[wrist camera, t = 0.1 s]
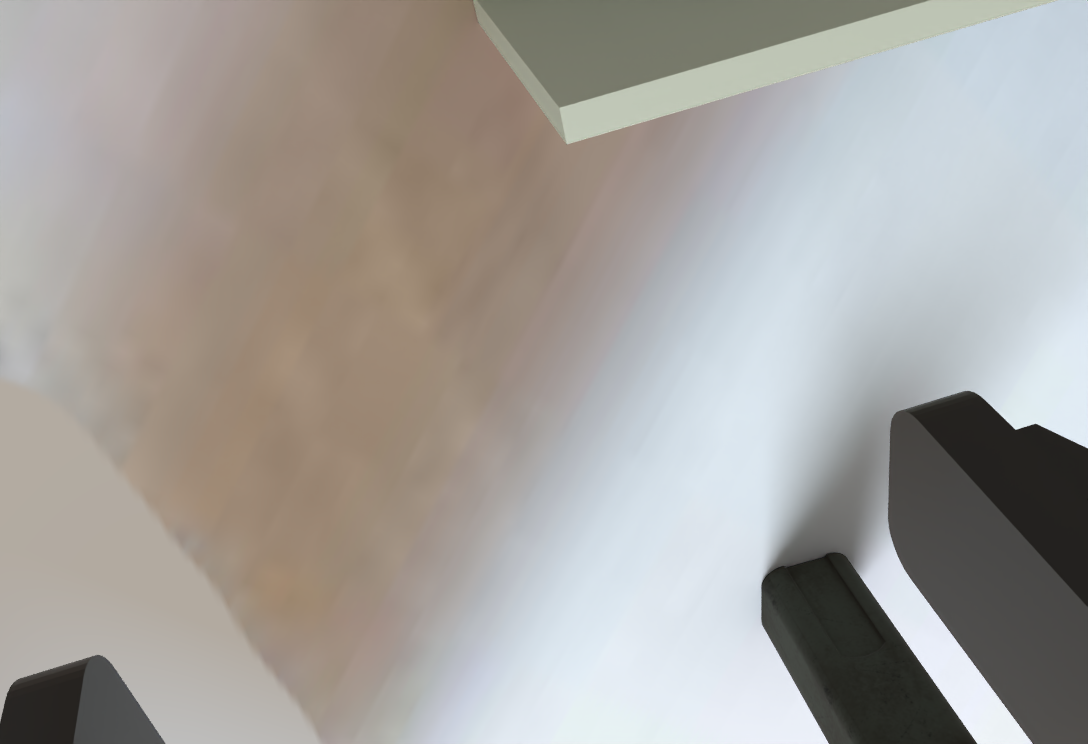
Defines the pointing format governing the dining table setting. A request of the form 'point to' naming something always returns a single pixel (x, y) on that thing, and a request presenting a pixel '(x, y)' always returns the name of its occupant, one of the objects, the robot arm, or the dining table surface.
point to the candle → (852, 659)
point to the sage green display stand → (696, 48)
